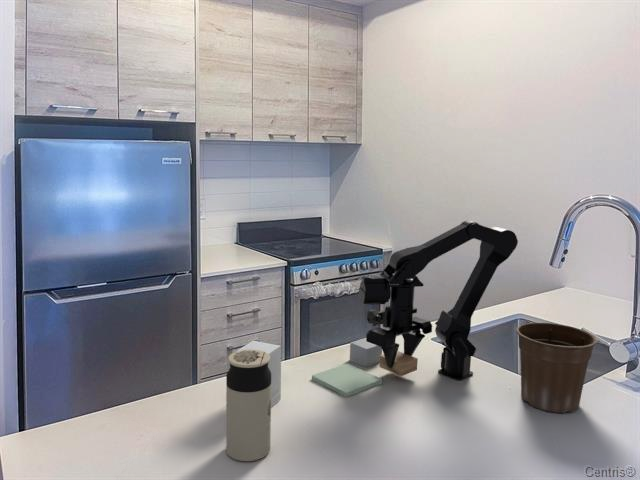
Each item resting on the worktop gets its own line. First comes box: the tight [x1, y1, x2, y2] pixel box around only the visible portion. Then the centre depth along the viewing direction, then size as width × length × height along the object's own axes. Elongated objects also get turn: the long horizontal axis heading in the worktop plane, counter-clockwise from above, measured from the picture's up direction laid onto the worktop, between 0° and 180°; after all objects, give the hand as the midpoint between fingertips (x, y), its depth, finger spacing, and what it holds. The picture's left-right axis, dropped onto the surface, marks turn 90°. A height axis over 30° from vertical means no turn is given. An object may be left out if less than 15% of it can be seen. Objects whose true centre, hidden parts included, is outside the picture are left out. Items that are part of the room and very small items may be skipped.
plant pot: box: [516, 322, 598, 414], centre depth 116 cm, size 16×16×16 cm
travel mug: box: [225, 350, 272, 462], centre depth 93 cm, size 8×8×18 cm
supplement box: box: [235, 340, 282, 408], centre depth 111 cm, size 7×7×13 cm
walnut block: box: [379, 350, 419, 377], centre depth 127 cm, size 7×6×3 cm
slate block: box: [349, 337, 383, 368], centre depth 137 cm, size 6×6×5 cm
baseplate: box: [311, 363, 383, 398], centre depth 125 cm, size 12×12×1 cm
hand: (398, 364), depth 128 cm, fingers closed on walnut block, 6 cm apart
